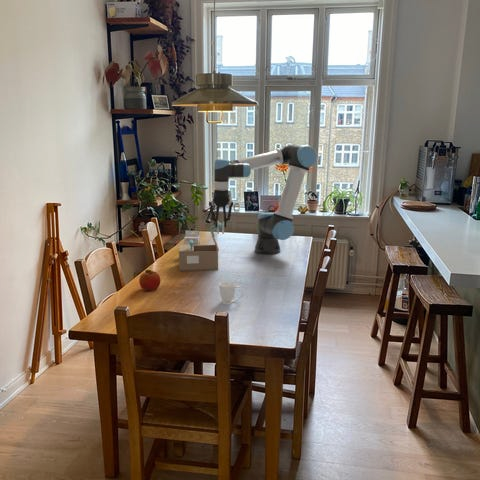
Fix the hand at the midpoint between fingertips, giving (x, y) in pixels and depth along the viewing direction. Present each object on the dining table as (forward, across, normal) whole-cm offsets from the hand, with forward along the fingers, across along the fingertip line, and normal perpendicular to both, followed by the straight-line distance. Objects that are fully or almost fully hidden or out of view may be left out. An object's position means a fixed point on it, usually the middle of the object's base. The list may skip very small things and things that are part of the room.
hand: (220, 233), depth 248 cm
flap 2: (+2, +4, +3) cm, 6 cm away
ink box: (+18, +15, -17) cm, 29 cm away
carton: (+17, +12, +3) cm, 21 cm away
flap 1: (+8, +18, +4) cm, 20 cm away
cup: (+18, 0, +56) cm, 59 cm away
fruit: (+18, +34, +36) cm, 53 cm away
